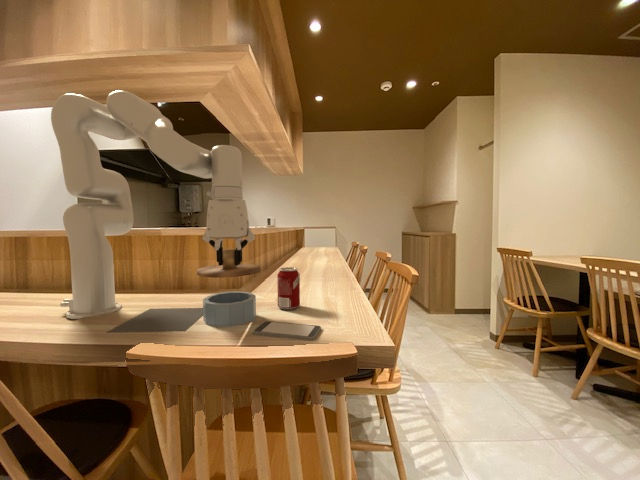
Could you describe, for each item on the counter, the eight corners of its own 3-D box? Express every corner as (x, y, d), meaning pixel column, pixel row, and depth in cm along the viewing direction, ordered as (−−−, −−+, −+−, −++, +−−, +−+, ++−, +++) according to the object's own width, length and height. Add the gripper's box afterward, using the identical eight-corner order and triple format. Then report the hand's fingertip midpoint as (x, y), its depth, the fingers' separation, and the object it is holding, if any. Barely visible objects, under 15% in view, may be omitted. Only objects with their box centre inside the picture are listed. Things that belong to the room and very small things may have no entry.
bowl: (196, 329, 68) (195, 305, 67) (214, 312, 81) (213, 291, 80) (249, 328, 68) (249, 304, 68) (258, 311, 81) (258, 291, 81)
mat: (106, 334, 64) (106, 332, 64) (150, 310, 82) (150, 308, 82) (185, 333, 65) (185, 330, 65) (211, 309, 83) (211, 307, 83)
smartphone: (265, 320, 72) (321, 325, 68) (265, 324, 72) (321, 330, 68) (251, 331, 65) (313, 337, 61) (251, 335, 65) (313, 342, 61)
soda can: (289, 312, 80) (288, 271, 80) (273, 308, 85) (272, 269, 84) (304, 306, 86) (304, 268, 85) (288, 303, 90) (288, 266, 89)
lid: (186, 278, 65) (185, 252, 65) (209, 267, 81) (209, 247, 81) (254, 276, 66) (254, 251, 66) (264, 266, 82) (264, 246, 82)
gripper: (189, 193, 68) (192, 267, 70) (257, 193, 69) (258, 266, 70) (201, 196, 76) (203, 263, 77) (262, 196, 77) (263, 262, 78)
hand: (229, 264), depth 74 cm, fingers closed on lid, 3 cm apart
